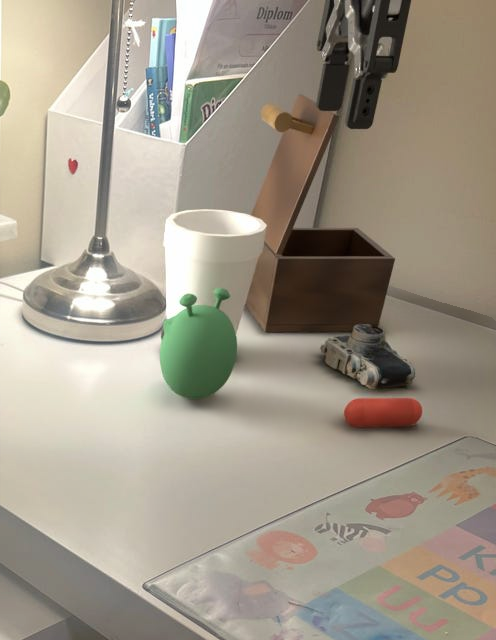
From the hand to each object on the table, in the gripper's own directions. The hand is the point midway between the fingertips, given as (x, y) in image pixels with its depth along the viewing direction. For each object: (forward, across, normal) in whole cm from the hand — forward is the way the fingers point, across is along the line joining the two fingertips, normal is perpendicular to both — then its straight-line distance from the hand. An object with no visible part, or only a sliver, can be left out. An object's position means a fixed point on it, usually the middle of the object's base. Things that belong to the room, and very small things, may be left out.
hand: (342, 118), depth 87 cm
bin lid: (+8, +13, -1) cm, 15 cm away
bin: (+22, +13, -5) cm, 26 cm away
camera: (+22, -4, -6) cm, 23 cm away
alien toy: (+22, -9, +13) cm, 27 cm away
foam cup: (+22, +1, +10) cm, 24 cm away
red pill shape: (+22, -16, -4) cm, 27 cm away
